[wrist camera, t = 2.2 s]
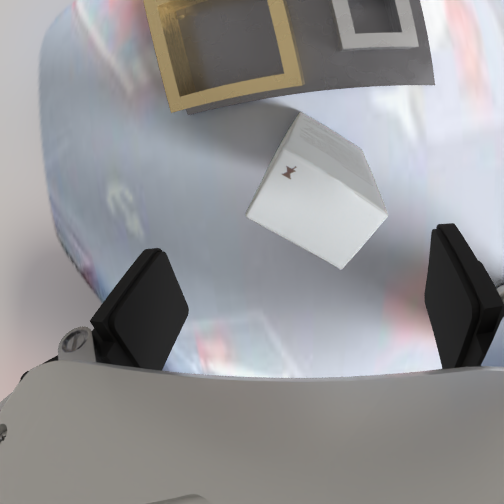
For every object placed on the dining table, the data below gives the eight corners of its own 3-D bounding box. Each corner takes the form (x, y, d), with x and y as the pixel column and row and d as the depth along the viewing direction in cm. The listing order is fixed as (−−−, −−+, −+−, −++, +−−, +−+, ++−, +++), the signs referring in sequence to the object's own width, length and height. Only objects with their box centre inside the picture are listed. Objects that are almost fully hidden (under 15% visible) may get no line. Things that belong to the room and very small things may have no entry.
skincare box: (274, 153, 26) (239, 216, 16) (300, 110, 23) (281, 143, 13) (337, 190, 26) (341, 274, 16) (364, 150, 24) (392, 213, 14)
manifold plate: (404, -40, 14) (417, -55, 11) (431, 84, 19) (449, 88, 16) (163, 0, 20) (139, -6, 16) (191, 113, 25) (171, 122, 22)
